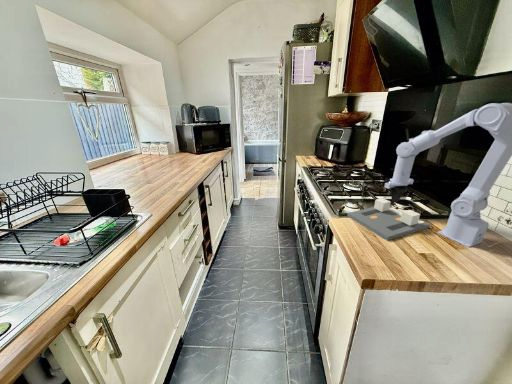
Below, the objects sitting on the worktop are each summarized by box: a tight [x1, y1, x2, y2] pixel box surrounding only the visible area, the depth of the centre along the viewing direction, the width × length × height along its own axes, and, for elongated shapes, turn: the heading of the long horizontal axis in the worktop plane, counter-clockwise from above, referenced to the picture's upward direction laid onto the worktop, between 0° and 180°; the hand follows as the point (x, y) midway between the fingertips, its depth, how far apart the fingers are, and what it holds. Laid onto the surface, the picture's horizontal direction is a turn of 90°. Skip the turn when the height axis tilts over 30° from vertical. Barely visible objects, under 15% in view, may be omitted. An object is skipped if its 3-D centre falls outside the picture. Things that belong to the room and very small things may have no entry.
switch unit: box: [346, 205, 431, 241], centre depth 86 cm, size 19×22×2 cm
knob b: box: [373, 198, 392, 212], centre depth 91 cm, size 4×4×4 cm
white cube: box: [400, 209, 421, 226], centre depth 81 cm, size 4×4×4 cm
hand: (394, 201), depth 94 cm, fingers closed
